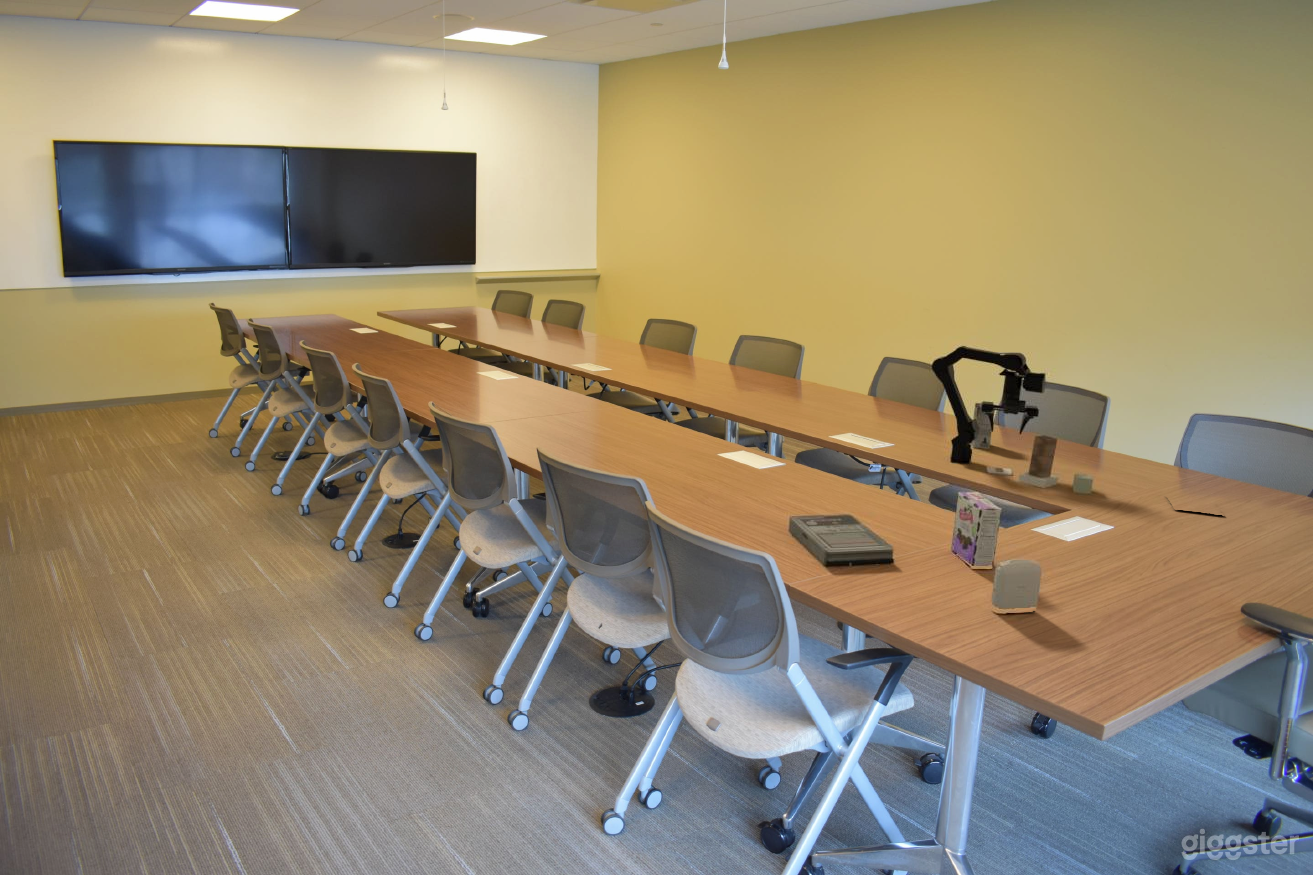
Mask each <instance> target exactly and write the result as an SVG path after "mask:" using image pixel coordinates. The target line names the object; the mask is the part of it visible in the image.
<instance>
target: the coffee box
mask: <svg viewBox="0 0 1313 875" xmlns="http://www.w3.org/2000/svg"><path fill="white" fill-rule="evenodd" d="M981 403H982V402H975V403H974V411H973V418H972V420H973V419H975V418H976V420H977V424H978V426H979V427H980V429H979V435H978V437H977V438H976V439H975V440H973V441H972V443H971V447H972V449H982V450H983V449H984V450H985V449H987V450H990V447H991V446H990V445H991V440H992V439H991V438H992V433H993V432H992V430H991V425H990V420H989V417H988V415H987V414H985V413H984V412H982V411H981ZM995 411H996V410H993V413H994V414H995Z"/></svg>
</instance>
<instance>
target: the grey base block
mask: <svg viewBox="0 0 1313 875" xmlns="http://www.w3.org/2000/svg"><path fill="white" fill-rule="evenodd" d="M1028 473H1029V471H1027V472H1026V471H1025V472H1023V473H1019V475H1018V482H1020V483H1024V484H1028V485H1031V486H1034V487H1039V488H1042V489H1044V488H1049V487H1051V486H1055V485H1058V481H1059V476H1057V475H1052V474H1051V475H1050V476H1049V477H1038V476H1035V475H1032V474H1028Z"/></svg>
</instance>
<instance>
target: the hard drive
mask: <svg viewBox="0 0 1313 875" xmlns="http://www.w3.org/2000/svg"><path fill="white" fill-rule="evenodd" d="M788 532H789V534H791V535H792V537H794V538H795V539H796V541H798V542H799V543H800V544H801V545H802V546H803V547H804V548H805V549H806V550H807V551H808V552H809V553H810V554H812V555H813V557H815V558H816V559H817V560H818V561H819V562H820V563H821V564H822V565H823V566H825V567H826V568H840V567H856V566H857V567H859V566H876V564H879V565H892V564H891V563H894V562H895V559H894V550H895V549H894V547H893V546H892V545H891V544H889V543H888V542H887V541H886V540H884V539H883V538H882V537H881V536H880V535H878V534H877V533H875V532H874V531H873V530H871V529H870V528H869V527H868V526H867V525H865V524H864V523H863V522H861V521H860V520H859V519H857V518H856V517H854V515H852V514H847V513H846V514H845V513H840V514H823V515H822V514H821V515H819V514H818V515H817V514H816V515H815V514H813V515H794V516H793V515H792V516H789V522H788ZM894 564H895V563H894Z"/></svg>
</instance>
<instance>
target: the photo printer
mask: <svg viewBox="0 0 1313 875" xmlns="http://www.w3.org/2000/svg"><path fill="white" fill-rule="evenodd" d="M994 570H995V571H994V577H993V587H992V593H991V601H990V603H991V602H992V605H994V606H995V607H998V608H999V609H1010V608H1011V609H1015V608H1030V607H1037V608H1038V600H1039V593H1040V587H1041V581H1042V580H1041V579H1042V567H1041V564H1040V563H1038V562H1037V561H1036V560H1032V559H1031V560H1030V559H1027V558H1015V559H1014V558H1013V559H1010V560H1009V559H1008V560H1004V561H1001V562H998V563H997V564H996V566H995V568H994Z"/></svg>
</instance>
